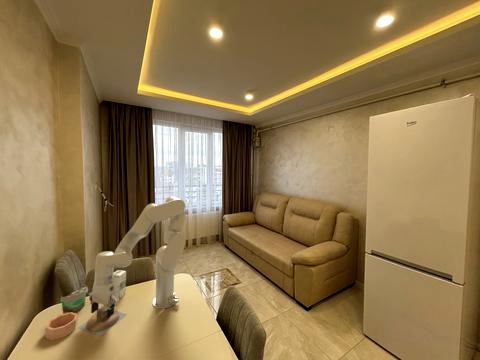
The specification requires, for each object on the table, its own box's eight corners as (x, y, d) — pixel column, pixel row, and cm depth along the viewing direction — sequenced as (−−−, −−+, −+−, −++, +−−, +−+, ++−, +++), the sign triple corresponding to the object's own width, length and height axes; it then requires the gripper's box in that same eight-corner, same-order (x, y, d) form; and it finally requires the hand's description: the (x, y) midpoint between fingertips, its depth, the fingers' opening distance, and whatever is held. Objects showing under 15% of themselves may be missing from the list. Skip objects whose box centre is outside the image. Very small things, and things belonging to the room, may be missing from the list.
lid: (125, 314, 99) (125, 303, 99) (101, 334, 86) (101, 321, 86) (105, 309, 102) (105, 297, 102) (79, 327, 90) (79, 314, 90)
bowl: (82, 325, 92) (82, 315, 91) (57, 343, 82) (57, 331, 82) (66, 320, 94) (66, 310, 94) (40, 337, 85) (40, 325, 84)
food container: (69, 319, 95) (70, 299, 95) (59, 317, 96) (60, 297, 96) (93, 303, 107) (93, 285, 107) (84, 301, 108) (84, 284, 108)
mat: (127, 315, 99) (127, 314, 99) (100, 337, 86) (100, 335, 86) (105, 309, 103) (105, 308, 103) (77, 329, 90) (77, 327, 90)
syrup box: (116, 293, 117) (116, 269, 116) (125, 294, 116) (126, 270, 116) (109, 299, 111) (109, 274, 111) (119, 300, 111) (120, 275, 110)
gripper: (125, 278, 95) (123, 312, 95) (98, 271, 100) (96, 304, 100) (111, 286, 88) (109, 323, 88) (82, 278, 93) (80, 314, 93)
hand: (102, 313), depth 94 cm, fingers open, 9 cm apart
